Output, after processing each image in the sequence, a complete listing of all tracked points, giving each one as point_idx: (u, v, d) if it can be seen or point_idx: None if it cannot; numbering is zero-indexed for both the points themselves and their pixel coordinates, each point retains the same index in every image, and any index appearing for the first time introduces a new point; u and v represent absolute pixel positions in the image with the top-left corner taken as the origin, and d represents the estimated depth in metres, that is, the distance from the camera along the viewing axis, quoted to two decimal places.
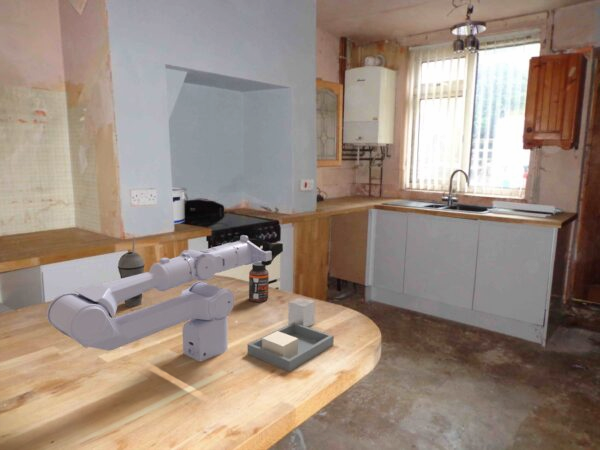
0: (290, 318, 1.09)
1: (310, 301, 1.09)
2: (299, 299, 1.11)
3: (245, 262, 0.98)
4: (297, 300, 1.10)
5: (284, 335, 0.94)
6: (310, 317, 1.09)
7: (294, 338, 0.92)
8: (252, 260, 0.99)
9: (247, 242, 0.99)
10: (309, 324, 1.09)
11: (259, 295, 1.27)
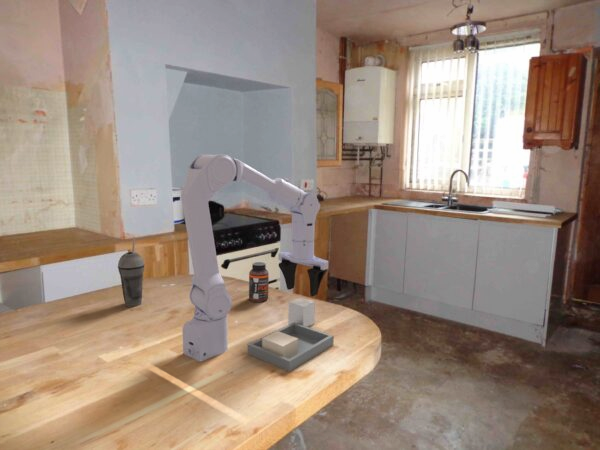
0: (290, 318, 1.09)
1: (310, 301, 1.09)
2: (299, 299, 1.11)
3: (305, 253, 1.04)
4: (297, 300, 1.10)
5: (284, 335, 0.94)
6: (310, 317, 1.09)
7: (294, 338, 0.92)
8: None
9: None
10: (309, 324, 1.09)
11: (259, 295, 1.27)
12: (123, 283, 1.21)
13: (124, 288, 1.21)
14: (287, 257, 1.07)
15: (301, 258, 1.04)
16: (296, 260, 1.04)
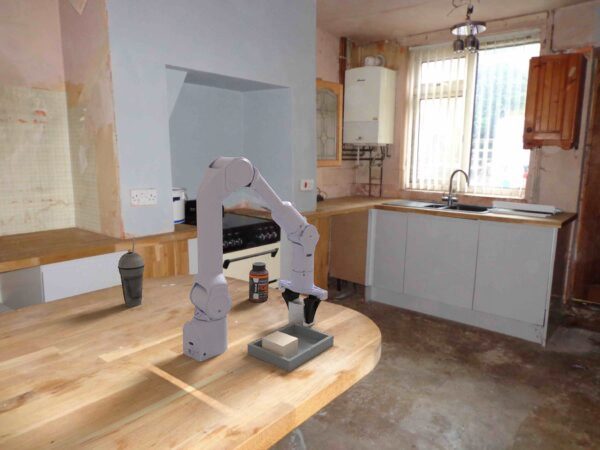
0: (290, 318, 1.09)
1: None
2: (299, 299, 1.11)
3: (305, 283, 1.05)
4: (297, 300, 1.10)
5: (284, 335, 0.94)
6: None
7: (294, 338, 0.92)
8: None
9: None
10: (309, 324, 1.09)
11: (259, 295, 1.27)
12: (123, 283, 1.21)
13: (124, 288, 1.21)
14: (287, 286, 1.09)
15: (301, 288, 1.05)
16: (296, 290, 1.06)
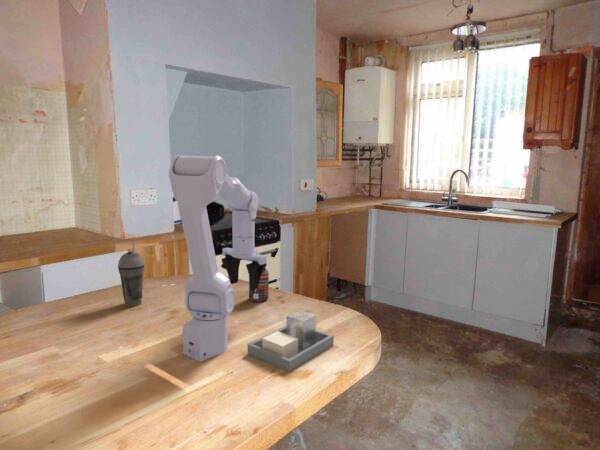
0: (288, 334, 0.97)
1: (310, 315, 0.98)
2: (298, 312, 0.99)
3: (245, 248, 1.09)
4: (296, 314, 0.98)
5: (284, 335, 0.94)
6: (310, 333, 0.97)
7: (294, 338, 0.92)
8: None
9: None
10: (309, 341, 0.97)
11: (259, 295, 1.27)
12: (123, 283, 1.21)
13: (124, 288, 1.21)
14: (229, 252, 1.12)
15: (241, 253, 1.09)
16: (236, 255, 1.09)
